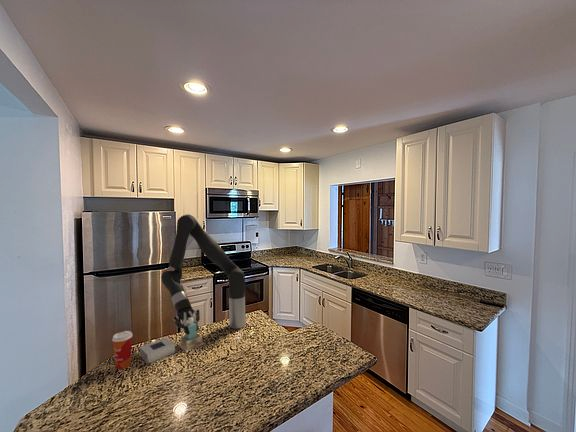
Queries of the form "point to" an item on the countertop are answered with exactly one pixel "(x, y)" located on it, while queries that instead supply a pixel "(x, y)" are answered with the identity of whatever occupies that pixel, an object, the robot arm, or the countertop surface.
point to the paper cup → (122, 349)
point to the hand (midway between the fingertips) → (192, 332)
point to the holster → (190, 343)
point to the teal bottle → (191, 329)
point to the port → (156, 350)
